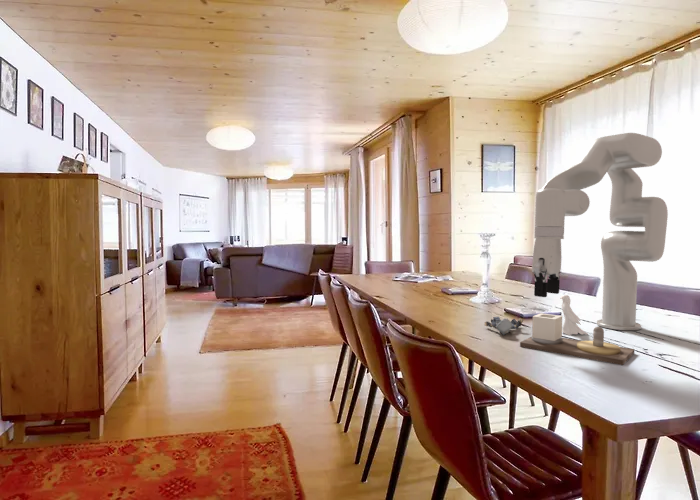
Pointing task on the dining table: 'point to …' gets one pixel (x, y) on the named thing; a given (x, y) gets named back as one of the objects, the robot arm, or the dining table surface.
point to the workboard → (583, 348)
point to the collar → (547, 327)
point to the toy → (504, 324)
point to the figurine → (570, 318)
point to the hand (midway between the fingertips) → (546, 294)
